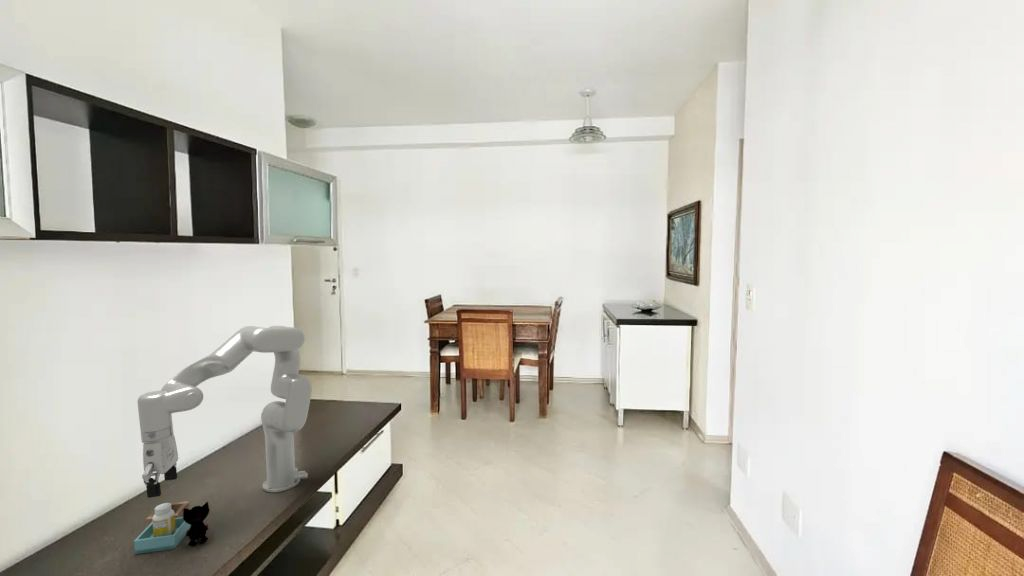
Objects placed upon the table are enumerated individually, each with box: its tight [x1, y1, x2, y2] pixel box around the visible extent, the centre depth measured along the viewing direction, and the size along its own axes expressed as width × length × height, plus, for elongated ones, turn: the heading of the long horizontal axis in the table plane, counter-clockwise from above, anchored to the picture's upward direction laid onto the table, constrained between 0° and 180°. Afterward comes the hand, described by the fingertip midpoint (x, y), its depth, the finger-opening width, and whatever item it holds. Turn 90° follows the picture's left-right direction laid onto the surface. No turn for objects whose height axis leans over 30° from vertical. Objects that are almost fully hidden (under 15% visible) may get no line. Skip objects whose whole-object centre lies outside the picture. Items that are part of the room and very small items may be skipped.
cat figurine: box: [183, 501, 210, 547], centre depth 135 cm, size 7×7×12 cm
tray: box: [133, 517, 191, 555], centre depth 136 cm, size 10×10×4 cm
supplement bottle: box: [152, 502, 176, 537], centre depth 136 cm, size 5×5×10 cm
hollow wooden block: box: [145, 500, 191, 529], centre depth 147 cm, size 9×9×4 cm
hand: (163, 487), depth 135 cm, fingers open, 9 cm apart
